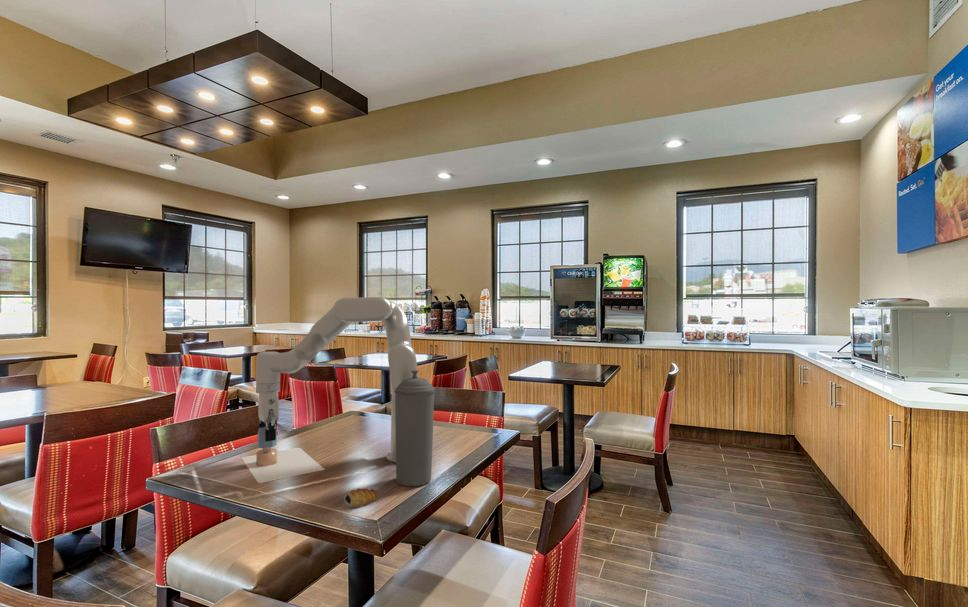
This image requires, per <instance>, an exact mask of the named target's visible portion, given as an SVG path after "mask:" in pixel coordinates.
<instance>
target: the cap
mask: <svg viewBox="0 0 968 607" xmlns="http://www.w3.org/2000/svg"><path fill="white" fill-rule="evenodd" d="M265 429H266V427H261V428H259V427H258V430H257V448H258V449H263V448H270V447H271V448H274V447H276V446H277V444H278V443H277V441H278V440H277V437H278V436H277V432H278V430H277V429H276V440H274V441H267V442H266V441H265Z"/></svg>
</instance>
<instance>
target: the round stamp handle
mask: <svg viewBox="0 0 968 607" xmlns="http://www.w3.org/2000/svg"><path fill="white" fill-rule="evenodd" d="M277 451H278V450H277V449H276V448H272V447H270V448H262V449H261V450H257V452H256V453H255V455H256V465H257V466H270V465H274V464H276V463H277Z"/></svg>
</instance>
